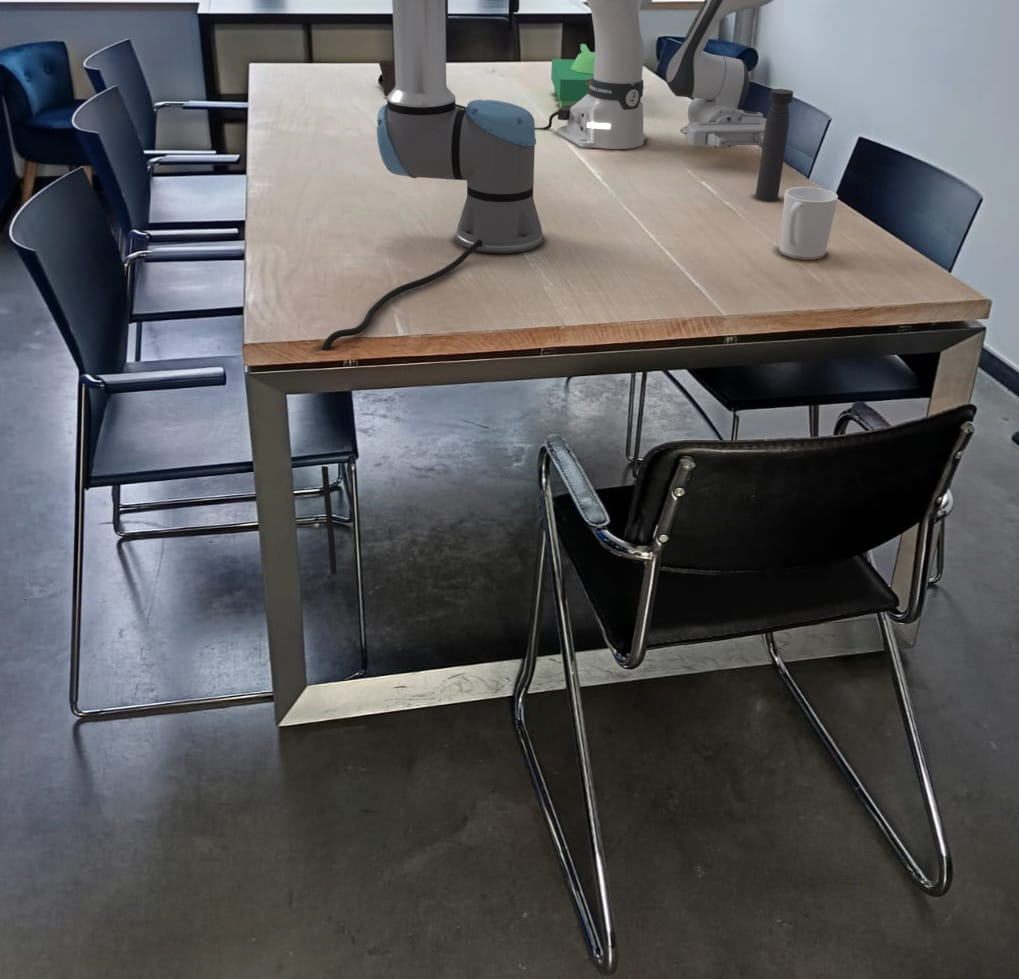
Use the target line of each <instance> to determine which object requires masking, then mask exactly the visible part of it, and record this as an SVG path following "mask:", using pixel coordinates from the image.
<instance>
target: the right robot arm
mask: <svg viewBox="0 0 1019 979" xmlns="http://www.w3.org/2000/svg"><path fill="white" fill-rule="evenodd" d="M585 1H586V3H587V6H588V7H589V9H590V14H591V19H592V26H593V33H594V34H593V35H594V52H595V60H594V77H593V78H592V79H587V80H586V81H591V82H588V83H586V85H589V84H590V86H589V89H588V92H587V93H588V94H587V95H586V96H584V97H583V98H582V99H581V100H580V101H578V102H577V103H576V104H575V105H573V106H568V105H566V106H564V107H562V108H560V107H559V109H557V111H555V112H553V113H552V114H551V115H550V116H549V119H548V125H546V126H544V127H535V130H540V131H541V130H543V131H547V130H549V129H551V127H552V124H553V118H555V116H557V120H560V121H567V122H566V125H563V126H560V127H559V128H557V129H556V133H557V134H558V135H559V136H561V137H563V138H564V139H567V140H569V141H571V142H572V143H573V144H575V145H576V146H579V147H581V148H598V149H604V150H605V149H607V150H627V149H635V148H638V147H641V146H643V145H644V144H645V139H646V138H647V134H646V133H645V132H644V103H643V101H642V98H643V96H644V95H643V94H644V89H645V88H644V87H645V86H644V79H643V69H644V57H645V41H644V39H643V37H642V32H641V24H640V10H643V9H644V8H646V7H647V6H649V5H650V4H651V3H652V2H653V0H585ZM773 1H774V0H704V1H703V3H702V5H701V7H700V8H699V10H698V11H697V13H696V16H695V17H694V19H693V21H692V24H691V25H690V27H689V29H688V31H687V33H686V34H685V36H684V38H683V40H682V42H681V44H680V45H679V46H678V48H677V50H676V51H675V52H674V54H673V55H672V57H671V58H670V60H669V63H668V65H667V68H666V73H665V82H666V85H667V86H668V88H669V90H670V91H671V92H672V93H673V94H674V96H675V97H678V98H679V97H680V98H693V99H692V100H691V101H690V103H689V105H688V107H687V119H688V121H689V122H688V123H687V124H686V126H684V127H680V133H681V134H683V135H685V140H686V142H687V144H688V145H689V146H692V147H714V148H715V149H719V150H727V149H729V148H733V147H737V146H759V147H761V148H762V146H763V138H764V131H765V124H766V119H767V117H766V118H765V117H764V114H763V113H762V112H759V111H751V110H744V109H741V108H742V106H744V103H745V101H746V98H747V97H748V93H749V90H750V84H751V81H750V80H751V79H750V74H749V71H748V68H747V65H746V64H745V62H744V61H743V59H739V58H735V57H730V56H726V55H717V54H712V53H708V52H703V51H704V49H705V48H706V46H707V44H708V43H709V40H710V38H711V36H712V35H713V33H714V31H715V30H716V27H717V25H718V24H719V23H720V22H721V20H722V19H723V18H725V17H727V16H729V15H731V14H734V13H737V12H739V11H740V12H741V11H745V10H751V9H757V8H760V7H761V8H762V7H763V6H767V5H769V4H770V3H772V2H773ZM466 107H467V106H464V105H461V104H457V103H456V108H457V109H461V110H466Z"/></svg>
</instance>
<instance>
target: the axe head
mask: <svg viewBox="0 0 1019 979" xmlns="http://www.w3.org/2000/svg"><path fill="white" fill-rule="evenodd" d="M378 66H379V68H380V72H381V74H379V75H378V79H377V84H378V85H379V86H380V87H381V88H382V89H383V95H384V96H385V97H387V96H388V95H389V94H390V92H391V91H392V90H393V89H394V88H395V85H396V83H395V60H388V59H387V60H380V61H379V62H378Z"/></svg>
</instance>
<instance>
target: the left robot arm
mask: <svg viewBox="0 0 1019 979" xmlns="http://www.w3.org/2000/svg"><path fill="white" fill-rule="evenodd" d="M391 4H392V5H391V6H392V7H391V8H392V27H393V29H392V30H393V54H394V56H393V57H394V61H395V83H396V85H395V88H394V89H393V90H392V91H391V92H390V94H389V95H388V96H386V104H384V105H382V106H381V107H380V108H379V110H378V112H377V118H376V123H377V126H376V138H377V145H378V146H377V147H378V149H379V154H380V157H381V158H380V159H381V160H382V162H383V165H384V166H385V167H386V169H387V171H389V172H390V173H391V174H393V175H396V176H402V177H409V178H412V179H417V178H425V179H439V180H453V181H455V180H456V181H466V192H467V193H466V198H465V202H464V205H463V209H462V211H461V214H460V218H459V220H458V224H457V228H456V241H457V243H458V244H459V245H461V246H462V247H464V248H466V250H465V251H463V252H462V254H461V255H459V257H457V258H456V259H455V260H453V261H452V262H451V263H449V264H448V265H446V266H445V267H443V268H442V269H439V270H438V271H436V272H433V273H432V274H430V275H428V276H425V277H422V278H420V279H417V280H414V281H411V282H408V283H405V284H402V285H400V286H398V287H396V288H394V289H392V290H391V291H389V292H387V293H386V294H385V295H383V296H382V297H381V298H380V299H379V300H377V301H376V302H375V303H374V304H373V306H372V307H371V308H370V309H369V310H368V311H367V314H366V315H365V317H364V319H363V321H362V322H361V323H359V325H357V326H356V327H352V328H345V329H340V330H336V331H334V332H332V333H331V334H330V335H329V336H328V337H326V339H325V340H324V342H323V344H322V346H321V349H320V350H321V351H323V352H324V351H328V350H330V347H331V346H332V344H333V343H334V342H335V341H336V340H338V339H340V338H344V337H352V336H356V335H358V334H361V333H362V332H363V331H365V330H366V329H367V328H368V327H369V326H370V324H371V322H372V321H373V318H374V316H375V315H376V313H377V312H378V311H380V309H381V308H382V307H383V306H384V305H385V304H387V302H388V301H390V300H392V299H393V298H395V297H396V296H399V295H400V294H402V293H404V292H406V291H409V290H412V289H415V288H418V287H421V286H424V285H426V284H429V283H431V282H433V281H435V280H437V279H439V278H442V277H443V276H445V275H447V274H448V273H450V272H452V271H453V270H454V269H455V268H457V267H458V266H459V265H460V264H462V263H463V262H464V261H465V260H466V259H467V258H468V257H469V256H470V255H471V254H473V253H474V252H479V253H486V254H497V255H499V254H500V255H506V254H507V255H508V254H517V253H524V252H527V251H530V250H533V249H536V248H538V247H539V246H540V245H541V244H542V243H543V229H542V224H541V221H540V220H541V219H540V218H539V214H538V213H539V212H538V210H537V206H536V204H535V199H534V183H535V181H534V180H535V148H536V144H537V139H536V129H535V128H536V123H535V118H534V116H533V114H532V113H531V112H530V111H528V110H527V109H525V108H524V107H522V106H520V105H517V104H514V103H511V102H506V101H500V100H494V99H486V100H485V99H475V100H471V101H469V102H468V104H467V106H465V107H466V110H465V109H461V108H457V107H456V104H457V103H456V95H455V94H454V93H453V92H452V91H451V90H450V89H449V88H448V86H447V40H446V39H447V35H446V34H447V31H446V29H447V28H448V27H449V0H391ZM519 11H520V0H508V20H507V22H508V26H507V29H508V31H509V32H512V31H514V29H515V28H514V25H515V24H514V22H515V13H519ZM321 479H322V489H323V500H324V510H325V520H326V521H325V522H326V532H327V542H328V554H329V567H330V569H329V570H330V575H332V576H334V575H337V573H338V572H337V570H338V569H337V555H336V544H335V543H336V542H335V530H334V518H333V508H332V500H331V498H332V497H331V488H330V477H329V466H326V465H321Z"/></svg>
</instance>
